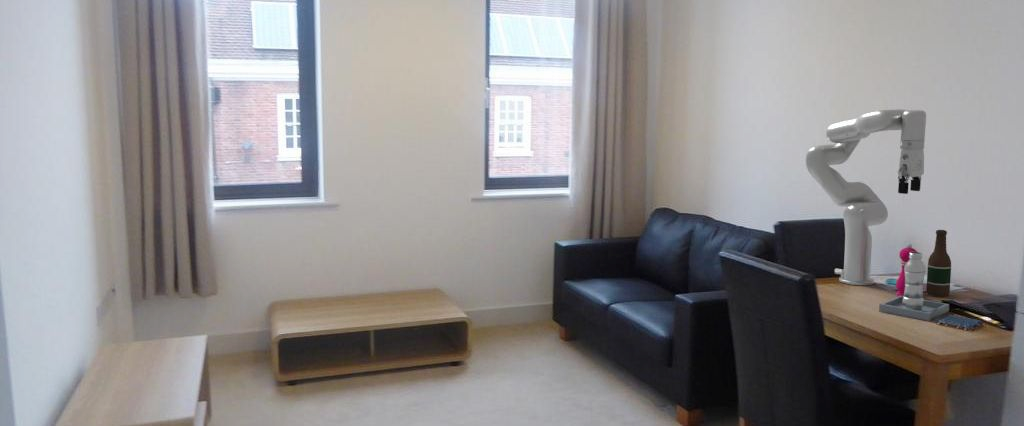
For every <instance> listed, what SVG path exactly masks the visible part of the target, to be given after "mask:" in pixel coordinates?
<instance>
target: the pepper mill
mask: <svg viewBox="0 0 1024 426" xmlns="http://www.w3.org/2000/svg"><path fill="white" fill-rule="evenodd" d="M912 247H913V245H912V243H907V244H906V247H904V248H902V249H901V250H900V251H899V258H900V259H901V260H900V265H901V271H900V275H899V277H898V278H897V280H896V281H895V282H896V283H895V287H896V289H897V291H896V297H898V296H904V291H905V272H904V271H905V270H904V267H905V264H906V263H907V262H908V261H909V260H910V258H909V254H910V252H918V251H917V250H916V249H915V248H912Z"/></svg>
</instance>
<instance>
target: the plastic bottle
mask: <svg viewBox="0 0 1024 426" xmlns="http://www.w3.org/2000/svg"><path fill="white" fill-rule="evenodd" d="M922 255H923V252H921V251H917V252H910V254H909V258H910V260H909V261H908V262H907V263H906V264H905V267H904V270H905V271H904V272H905V291H904V296H903V300H902V306H903V308H906V309H912V310H917V311H920V310H922V309H923V306H924V300H925V299H924V293H923V292H924V288H923V287H924V280H925V276H926V270H927V268H926V265H925V264H924V262H923V261H922V259H923V257H922Z"/></svg>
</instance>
